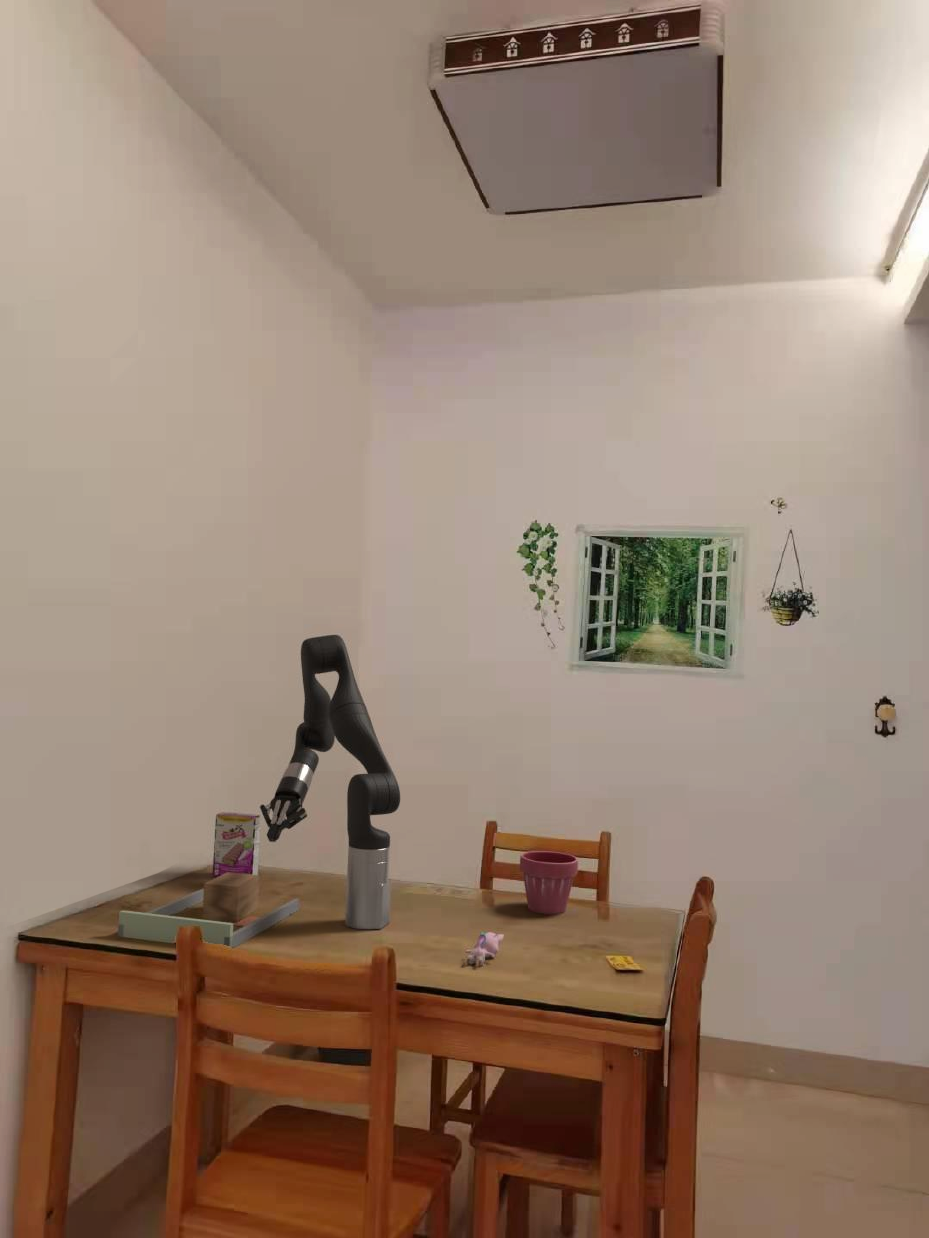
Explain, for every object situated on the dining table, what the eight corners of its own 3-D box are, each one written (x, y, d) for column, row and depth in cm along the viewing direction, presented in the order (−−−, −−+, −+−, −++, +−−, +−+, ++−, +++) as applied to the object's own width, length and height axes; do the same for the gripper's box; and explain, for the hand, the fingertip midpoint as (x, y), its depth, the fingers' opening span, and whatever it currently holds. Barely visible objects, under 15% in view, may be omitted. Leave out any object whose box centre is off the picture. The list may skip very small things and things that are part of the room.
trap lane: (298, 910, 218) (299, 888, 218) (229, 950, 186) (230, 924, 187) (201, 899, 224) (202, 878, 225) (117, 936, 193) (119, 911, 193)
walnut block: (257, 909, 218) (259, 874, 218) (236, 923, 206) (238, 886, 206) (225, 906, 219) (227, 872, 220) (202, 920, 207) (204, 883, 208)
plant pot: (586, 915, 223) (588, 861, 224) (532, 918, 219) (534, 863, 219) (560, 900, 237) (562, 849, 238) (509, 903, 232) (511, 851, 233)
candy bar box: (211, 877, 248) (214, 814, 249) (218, 873, 253) (221, 811, 254) (252, 879, 247) (255, 816, 248) (258, 875, 252) (261, 813, 252)
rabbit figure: (486, 977, 180) (512, 944, 194) (485, 947, 180) (512, 917, 193) (456, 972, 183) (484, 940, 196) (455, 942, 182) (484, 912, 196)
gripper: (267, 773, 243) (242, 828, 231) (314, 776, 240) (291, 832, 228) (275, 791, 248) (251, 846, 236) (322, 795, 245) (300, 851, 232)
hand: (271, 839), depth 232 cm, fingers closed
